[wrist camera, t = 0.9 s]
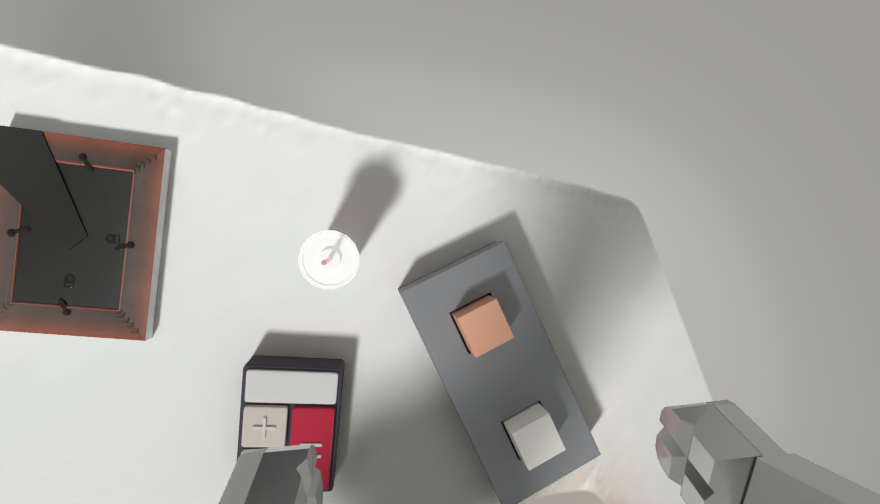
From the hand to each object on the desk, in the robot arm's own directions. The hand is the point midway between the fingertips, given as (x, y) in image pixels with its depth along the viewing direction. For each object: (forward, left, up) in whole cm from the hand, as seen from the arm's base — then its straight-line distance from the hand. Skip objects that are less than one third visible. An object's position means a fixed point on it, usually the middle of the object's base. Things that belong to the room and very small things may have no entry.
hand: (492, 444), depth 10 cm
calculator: (-10, +18, -45) cm, 49 cm away
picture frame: (+19, +29, -45) cm, 57 cm away
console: (-17, -7, -44) cm, 48 cm away
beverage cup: (+5, +5, -44) cm, 45 cm away
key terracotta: (-9, -7, -41) cm, 43 cm away
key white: (-24, -7, -41) cm, 48 cm away
